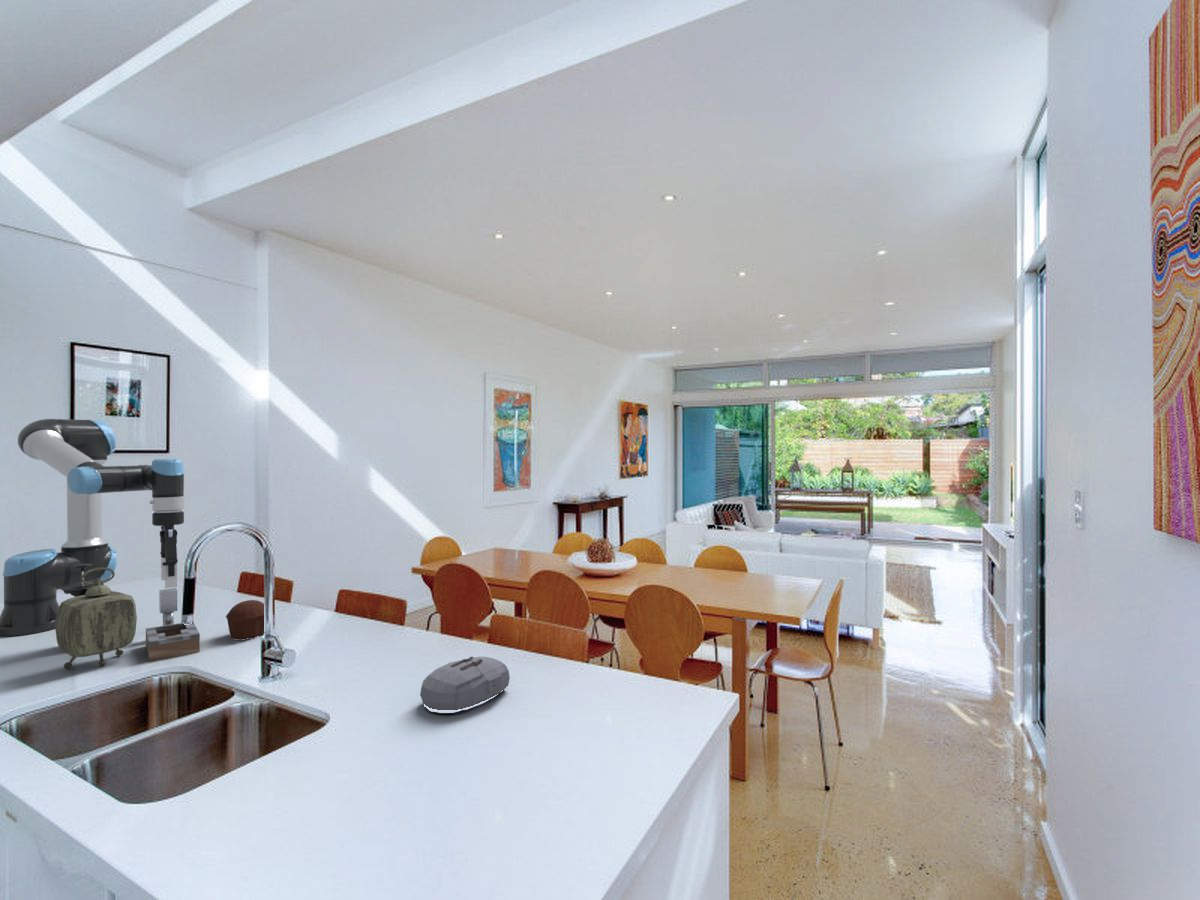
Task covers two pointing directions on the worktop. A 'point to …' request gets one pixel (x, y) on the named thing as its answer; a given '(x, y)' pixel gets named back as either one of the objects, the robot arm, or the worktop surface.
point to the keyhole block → (172, 641)
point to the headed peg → (168, 605)
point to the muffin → (246, 620)
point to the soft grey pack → (464, 683)
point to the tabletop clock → (95, 621)
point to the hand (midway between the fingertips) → (168, 583)
